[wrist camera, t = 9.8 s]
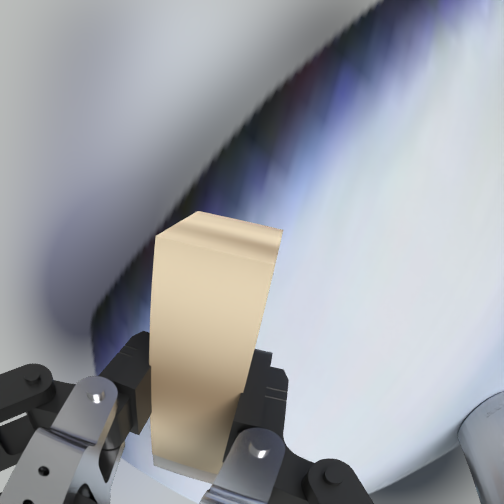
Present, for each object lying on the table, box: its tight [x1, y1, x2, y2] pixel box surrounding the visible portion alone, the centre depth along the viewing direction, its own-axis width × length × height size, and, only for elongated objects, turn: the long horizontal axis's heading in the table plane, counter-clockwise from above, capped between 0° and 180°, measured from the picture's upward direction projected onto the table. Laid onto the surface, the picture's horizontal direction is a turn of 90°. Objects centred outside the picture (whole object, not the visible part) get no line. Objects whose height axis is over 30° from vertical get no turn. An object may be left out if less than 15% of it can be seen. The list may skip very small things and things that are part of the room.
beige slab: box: [149, 211, 283, 484], centre depth 11 cm, size 15×5×3 cm, turn 169°
